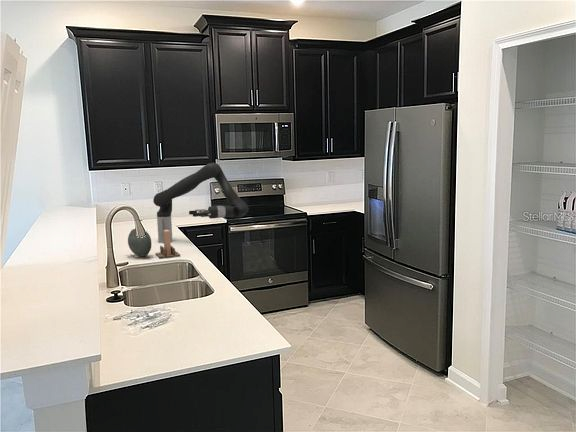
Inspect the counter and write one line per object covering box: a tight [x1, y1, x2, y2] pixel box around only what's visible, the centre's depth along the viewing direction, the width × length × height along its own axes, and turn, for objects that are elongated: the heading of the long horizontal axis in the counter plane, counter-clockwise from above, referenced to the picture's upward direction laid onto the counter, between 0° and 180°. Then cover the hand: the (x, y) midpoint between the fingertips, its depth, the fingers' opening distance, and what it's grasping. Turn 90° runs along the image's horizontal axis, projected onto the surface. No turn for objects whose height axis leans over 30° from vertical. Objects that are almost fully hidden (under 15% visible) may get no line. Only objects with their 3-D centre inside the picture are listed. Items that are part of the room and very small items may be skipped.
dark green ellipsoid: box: [127, 219, 152, 258], centre depth 283 cm, size 12×17×22 cm
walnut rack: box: [154, 245, 181, 260], centre depth 286 cm, size 12×12×5 cm
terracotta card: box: [163, 230, 172, 255], centre depth 285 cm, size 6×2×14 cm, turn 27°
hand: (191, 213), depth 292 cm, fingers open, 8 cm apart
